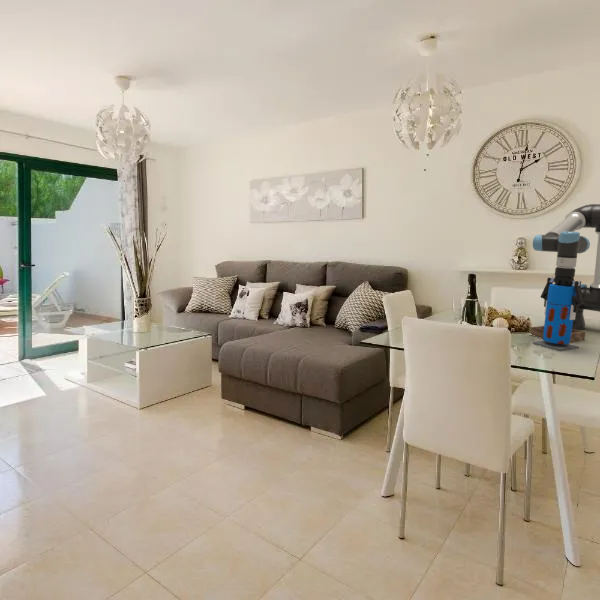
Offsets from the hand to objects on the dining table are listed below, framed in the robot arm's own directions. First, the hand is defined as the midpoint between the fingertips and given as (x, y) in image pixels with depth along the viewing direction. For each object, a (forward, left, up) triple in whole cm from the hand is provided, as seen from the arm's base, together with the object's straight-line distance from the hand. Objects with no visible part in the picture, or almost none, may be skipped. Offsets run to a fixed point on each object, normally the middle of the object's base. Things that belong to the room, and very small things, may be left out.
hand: (559, 317), depth 200 cm
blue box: (0, 0, -11) cm, 11 cm away
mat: (0, 0, -13) cm, 13 cm away
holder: (-16, -10, -13) cm, 23 cm away
